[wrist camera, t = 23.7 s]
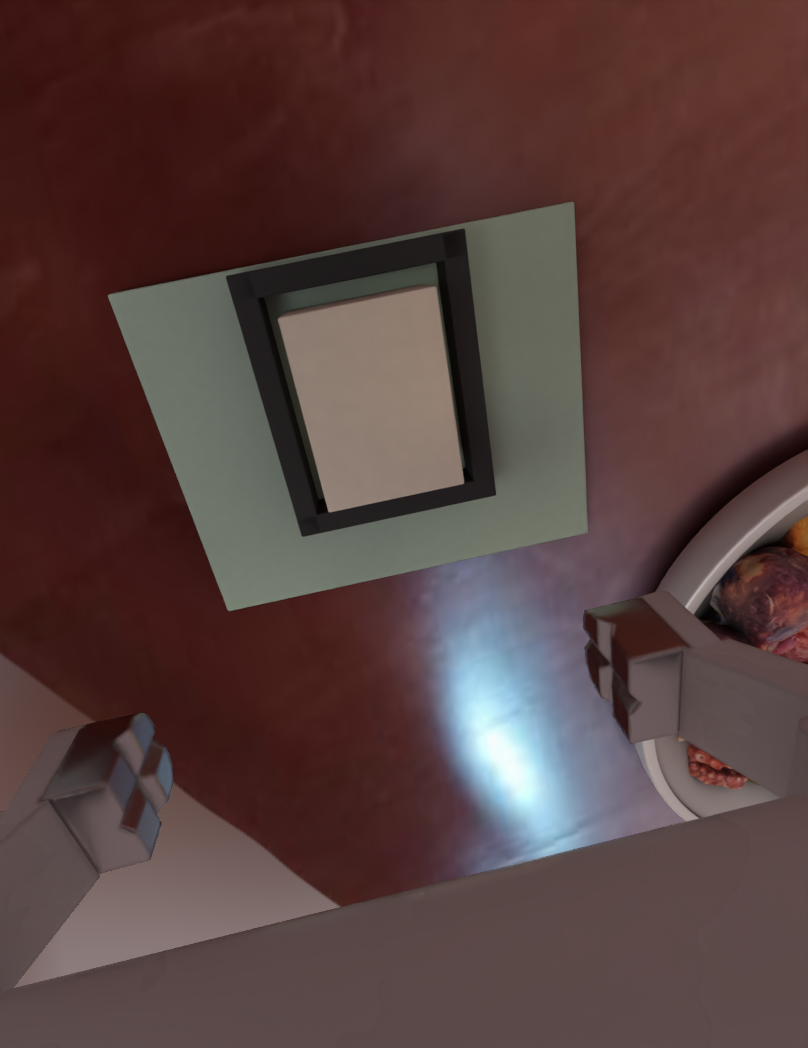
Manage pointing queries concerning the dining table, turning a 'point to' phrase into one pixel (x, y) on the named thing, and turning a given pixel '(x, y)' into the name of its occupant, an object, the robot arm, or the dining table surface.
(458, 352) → the base mat
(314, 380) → the beige rectangular block
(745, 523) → the bowl
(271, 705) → the dining table surface
